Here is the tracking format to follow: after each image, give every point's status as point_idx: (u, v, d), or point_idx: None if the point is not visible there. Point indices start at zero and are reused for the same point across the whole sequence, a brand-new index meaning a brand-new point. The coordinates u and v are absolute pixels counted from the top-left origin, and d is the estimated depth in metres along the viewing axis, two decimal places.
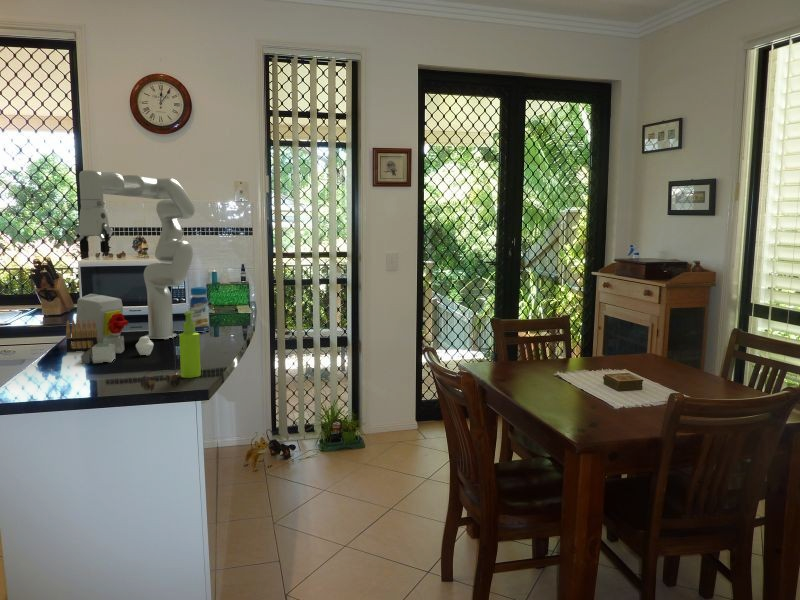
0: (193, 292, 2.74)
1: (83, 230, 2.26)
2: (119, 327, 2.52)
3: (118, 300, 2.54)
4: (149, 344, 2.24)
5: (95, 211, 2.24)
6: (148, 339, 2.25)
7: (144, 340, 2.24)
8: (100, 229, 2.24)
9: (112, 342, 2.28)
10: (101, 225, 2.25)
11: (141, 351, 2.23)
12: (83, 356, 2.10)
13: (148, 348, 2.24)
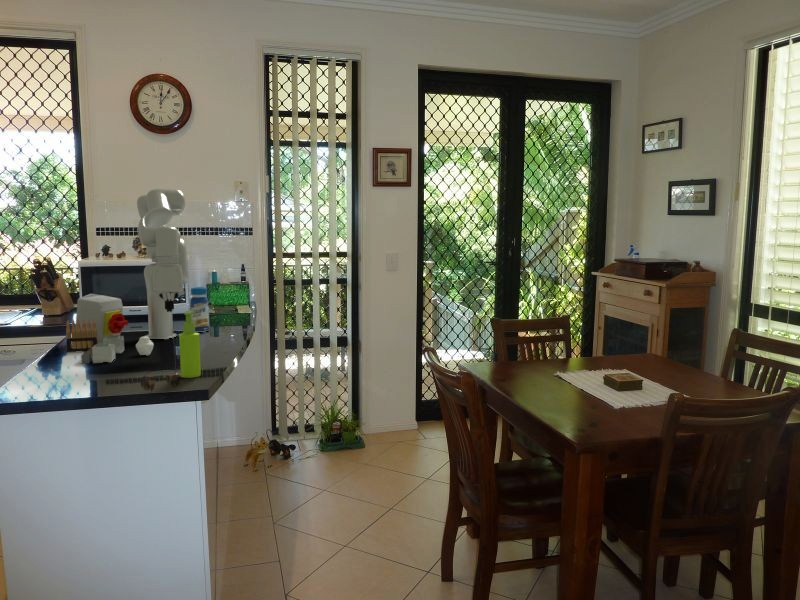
0: (193, 292, 2.74)
1: None
2: (119, 327, 2.52)
3: (118, 300, 2.54)
4: (149, 344, 2.24)
5: None
6: (148, 339, 2.25)
7: (144, 340, 2.24)
8: None
9: (112, 342, 2.28)
10: None
11: (141, 351, 2.23)
12: (83, 356, 2.10)
13: (148, 348, 2.24)
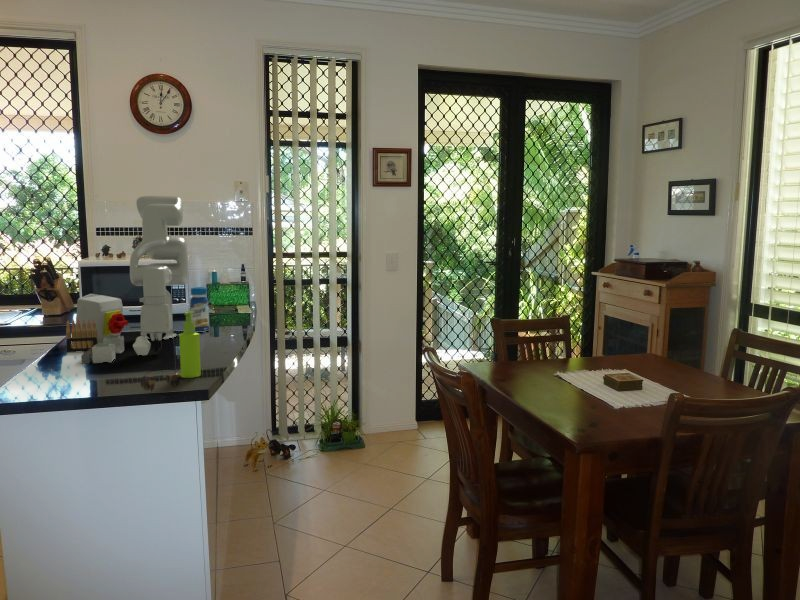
0: (193, 292, 2.74)
1: None
2: (119, 327, 2.52)
3: (118, 300, 2.54)
4: (146, 344, 2.24)
5: None
6: (145, 339, 2.24)
7: (141, 340, 2.23)
8: None
9: (112, 342, 2.28)
10: None
11: (138, 351, 2.23)
12: (83, 356, 2.10)
13: (145, 348, 2.23)
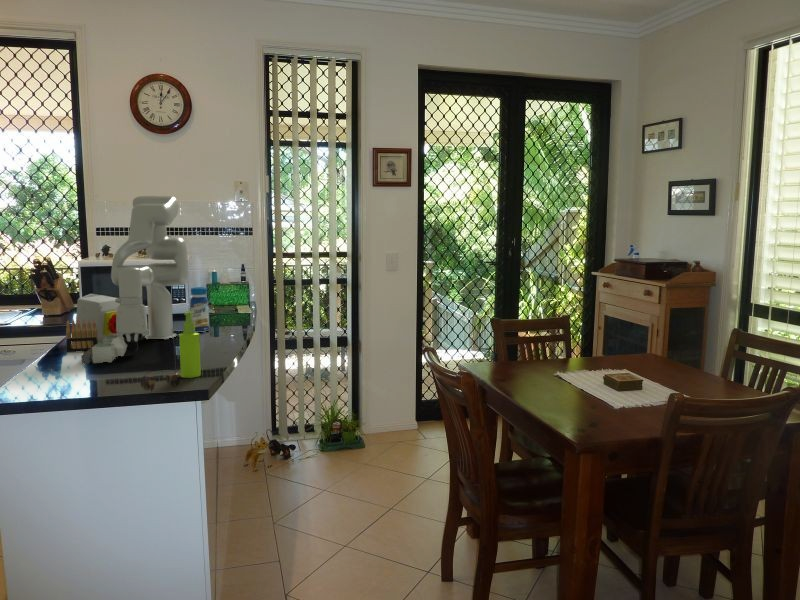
0: (193, 292, 2.74)
1: None
2: None
3: None
4: (122, 345, 2.22)
5: None
6: (121, 340, 2.22)
7: (117, 341, 2.21)
8: None
9: None
10: None
11: None
12: (83, 356, 2.10)
13: (121, 349, 2.21)
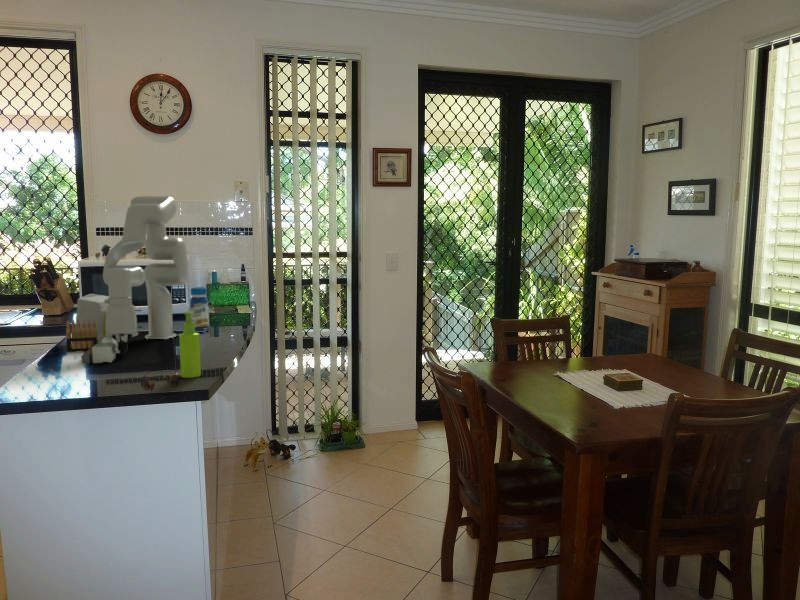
0: (193, 292, 2.74)
1: None
2: None
3: None
4: None
5: None
6: (110, 341, 2.22)
7: (106, 342, 2.21)
8: None
9: None
10: None
11: None
12: (83, 356, 2.10)
13: None
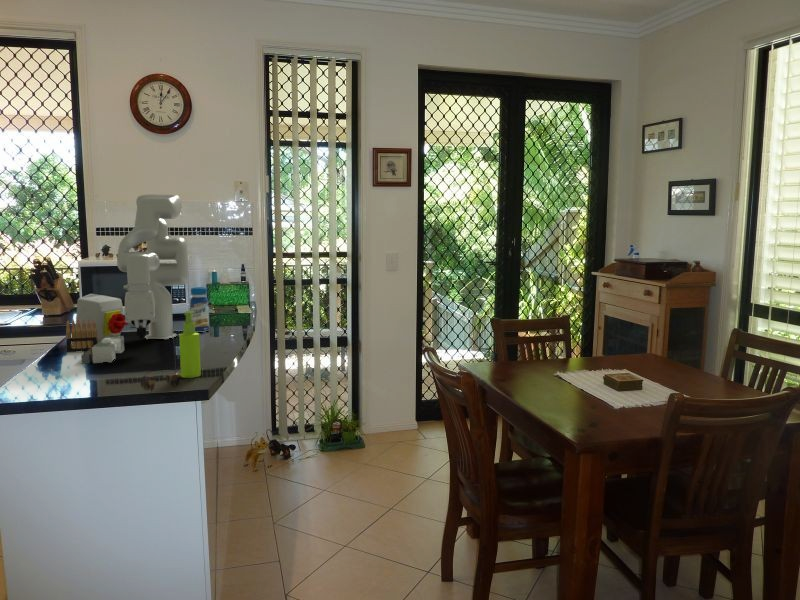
0: (193, 292, 2.74)
1: None
2: (119, 327, 2.52)
3: (118, 300, 2.54)
4: None
5: None
6: (110, 341, 2.22)
7: (106, 342, 2.21)
8: None
9: None
10: None
11: None
12: (83, 356, 2.10)
13: None
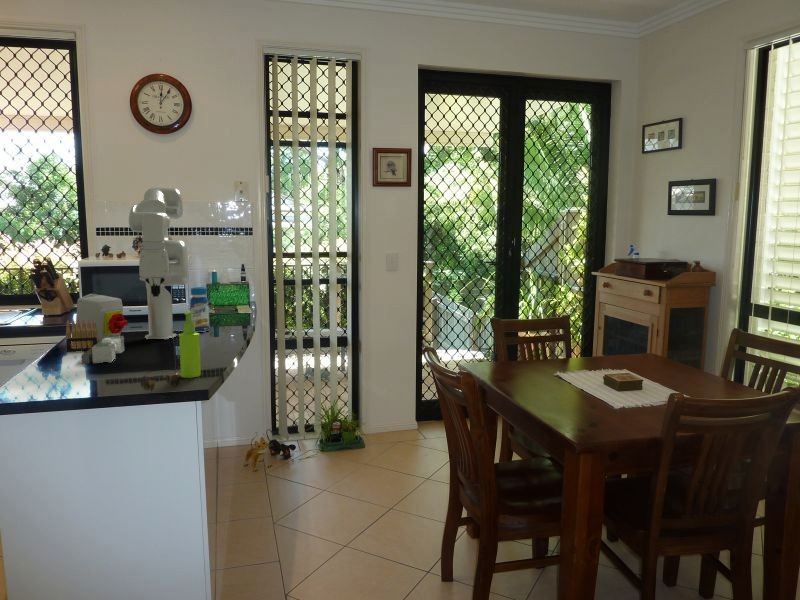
0: (193, 292, 2.74)
1: None
2: (119, 327, 2.52)
3: (118, 300, 2.54)
4: None
5: None
6: (110, 341, 2.22)
7: (106, 342, 2.21)
8: None
9: None
10: None
11: None
12: (83, 356, 2.10)
13: None
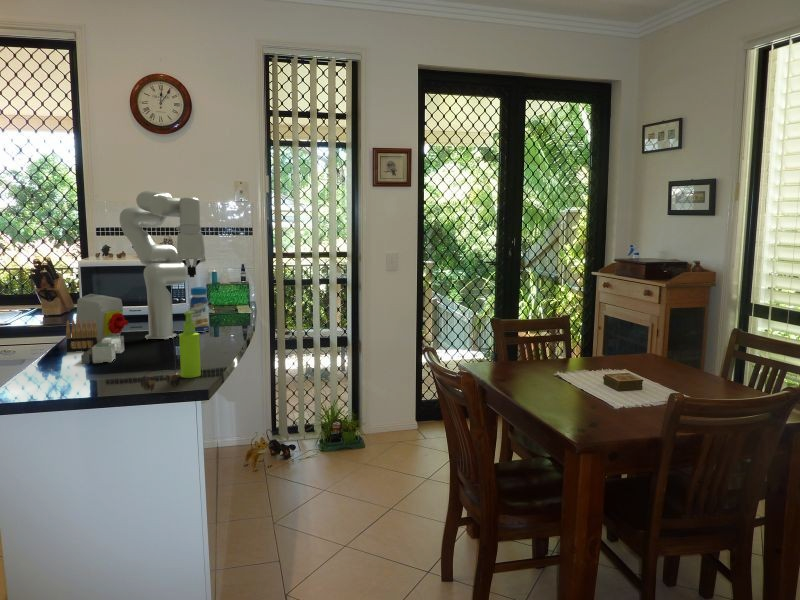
0: (193, 292, 2.74)
1: None
2: (119, 327, 2.52)
3: (118, 300, 2.54)
4: None
5: None
6: (110, 341, 2.22)
7: (106, 342, 2.21)
8: None
9: None
10: None
11: None
12: (83, 356, 2.10)
13: None
